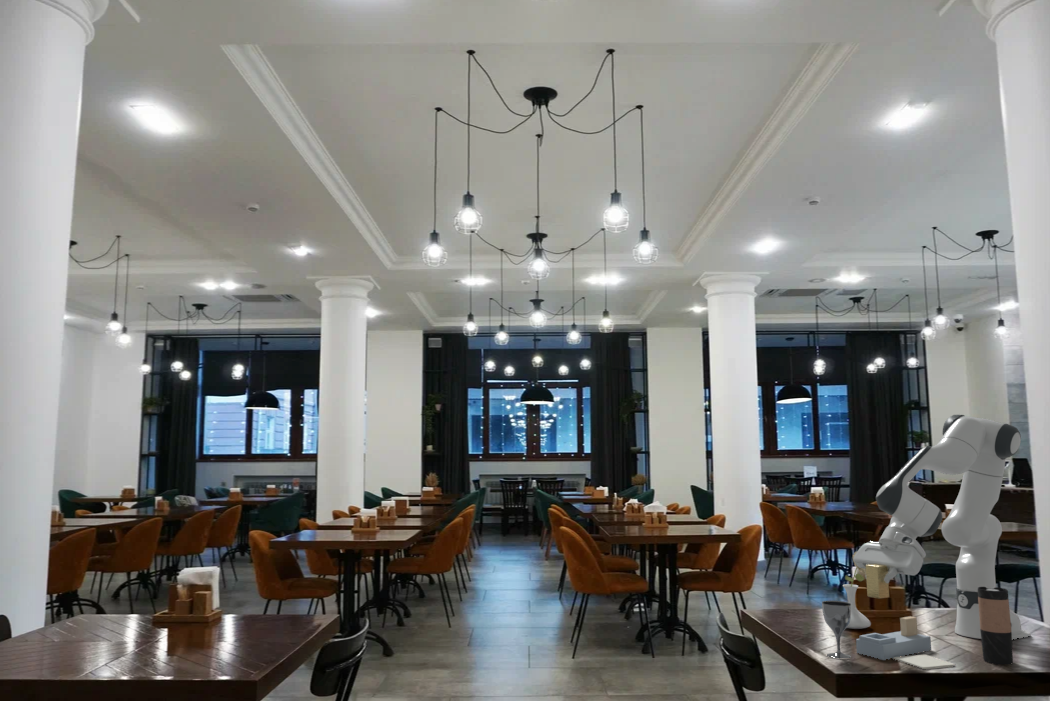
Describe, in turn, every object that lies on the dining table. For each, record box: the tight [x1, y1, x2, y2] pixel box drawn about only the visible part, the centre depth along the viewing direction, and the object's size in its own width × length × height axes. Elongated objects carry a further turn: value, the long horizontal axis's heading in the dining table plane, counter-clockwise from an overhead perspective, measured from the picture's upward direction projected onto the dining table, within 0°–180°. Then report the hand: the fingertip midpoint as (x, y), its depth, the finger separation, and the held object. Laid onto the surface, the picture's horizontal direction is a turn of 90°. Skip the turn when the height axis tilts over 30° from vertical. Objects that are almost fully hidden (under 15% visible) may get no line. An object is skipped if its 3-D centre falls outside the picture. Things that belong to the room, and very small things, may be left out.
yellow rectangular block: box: [865, 564, 890, 599], centre depth 230 cm, size 4×4×9 cm
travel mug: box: [978, 586, 1014, 665], centre depth 221 cm, size 8×8×20 cm
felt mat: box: [892, 653, 956, 670], centre depth 219 cm, size 11×11×1 cm
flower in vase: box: [842, 551, 872, 630], centre depth 265 cm, size 13×11×25 cm
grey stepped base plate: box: [855, 615, 932, 661], centre depth 232 cm, size 22×9×9 cm, turn 119°
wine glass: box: [821, 600, 852, 659], centre depth 227 cm, size 8×8×15 cm
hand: (876, 580), depth 230 cm, fingers closed on yellow rectangular block, 4 cm apart
